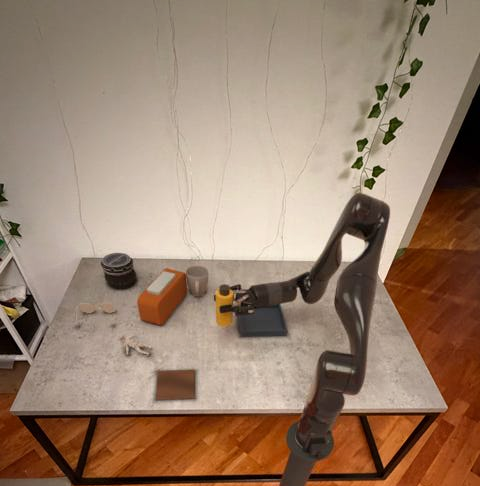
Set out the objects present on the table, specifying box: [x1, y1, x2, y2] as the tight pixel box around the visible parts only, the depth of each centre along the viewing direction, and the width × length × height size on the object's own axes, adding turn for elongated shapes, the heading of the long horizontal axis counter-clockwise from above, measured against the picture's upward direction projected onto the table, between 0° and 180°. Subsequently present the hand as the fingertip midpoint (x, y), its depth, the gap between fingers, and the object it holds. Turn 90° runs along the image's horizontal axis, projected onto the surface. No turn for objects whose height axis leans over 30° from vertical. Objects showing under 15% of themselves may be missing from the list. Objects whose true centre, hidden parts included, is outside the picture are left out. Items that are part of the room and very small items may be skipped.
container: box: [100, 252, 137, 290], centre depth 139 cm, size 13×13×10 cm
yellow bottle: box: [215, 283, 234, 328], centre depth 109 cm, size 6×6×13 cm
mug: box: [185, 265, 209, 297], centre depth 136 cm, size 12×9×10 cm
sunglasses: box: [75, 302, 116, 327], centre depth 125 cm, size 14×8×5 cm, turn 95°
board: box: [155, 369, 196, 401], centre depth 109 cm, size 12×12×1 cm
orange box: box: [136, 267, 188, 326], centre depth 129 cm, size 24×8×11 cm, turn 161°
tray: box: [237, 304, 288, 338], centre depth 130 cm, size 17×17×2 cm
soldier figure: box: [118, 333, 153, 357], centre depth 117 cm, size 8×5×12 cm
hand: (217, 303), depth 107 cm, fingers closed on yellow bottle, 5 cm apart
